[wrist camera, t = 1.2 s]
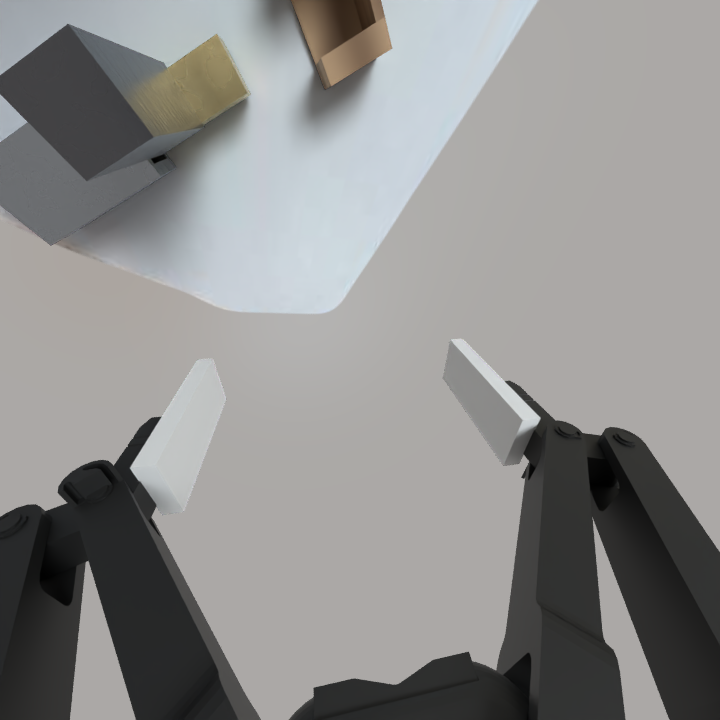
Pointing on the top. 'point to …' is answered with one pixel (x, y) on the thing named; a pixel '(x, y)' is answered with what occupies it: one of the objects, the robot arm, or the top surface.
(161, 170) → the sleeve
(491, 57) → the top surface
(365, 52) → the open wooden box
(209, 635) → the robot arm
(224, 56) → the grey yellow upright-t piece
